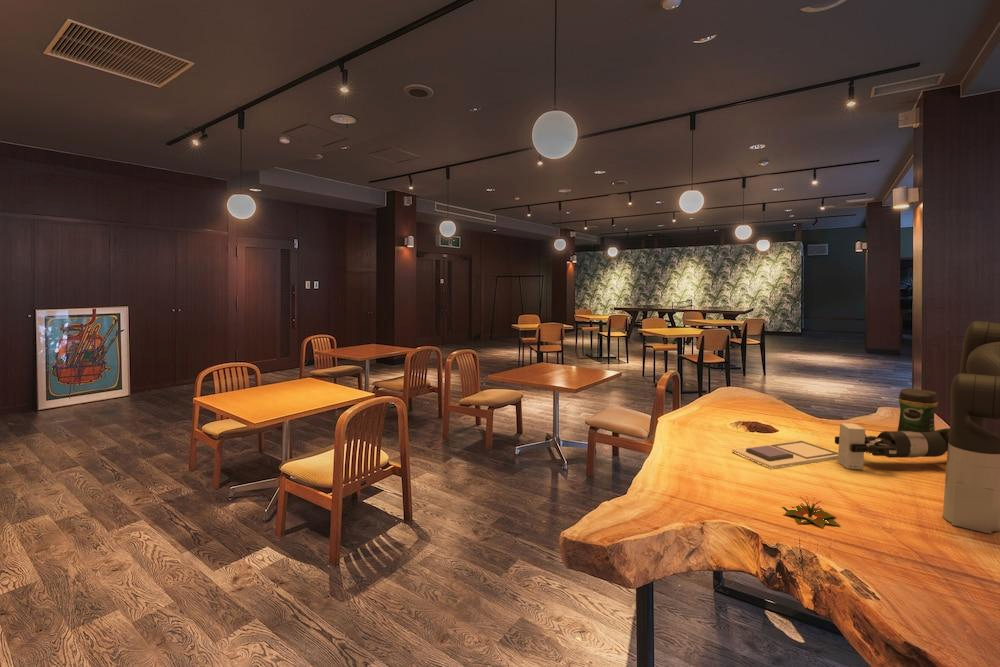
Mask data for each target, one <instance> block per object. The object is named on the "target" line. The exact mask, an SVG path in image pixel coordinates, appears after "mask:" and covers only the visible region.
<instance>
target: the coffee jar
mask: <svg viewBox="0 0 1000 667" xmlns="http://www.w3.org/2000/svg"><path fill="white" fill-rule="evenodd" d="M897 401H898V404H899V406H900V409H899V410H900V411H899V420H898V425H897V430H896V431H911V432H933V431H936V430H935V429H936V427H935V413H936V412H935V411H936V409H937V407H938V405H939V398H938V394H937V391H931V390H925V389H919V388H912V387H910V388H909V387H908V388H907V387H906V388H903V389H902V388H901V390H900V392H899V395H898V400H897Z"/></svg>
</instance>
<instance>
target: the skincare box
mask: <svg viewBox="0 0 1000 667" xmlns="http://www.w3.org/2000/svg"><path fill="white" fill-rule="evenodd" d="M865 434H866V429H865V428H864V427H863V426H860V425H858V424H856V423H847V422H846V423H844V422H840V423H839V435H838V436H839V444H838V449H837V450H838V451H837V453H838V459H837V462H838V463H839V464H840V465H842V466H843V467H845V468H846V470H847V469H849V470H864V459H865V458H864V456H865V452H851V451H850V445H851V444H865Z"/></svg>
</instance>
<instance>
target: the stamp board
mask: <svg viewBox="0 0 1000 667" xmlns="http://www.w3.org/2000/svg"><path fill="white" fill-rule="evenodd" d="M732 451H734V452H736V453H739V454H741V455H743V456H745V457H747V458H750V459H752V460H754V461H756V462H759V463H761V464H763V465H766V466H768V467H770V468H775V467H782V466H789V467H791V466H790V465H796V466H798V465H797V464H802V465H807V464H806V463H808V464H814V463H813V462H815V463H820V462H827V461H833V460H838V451H837V452H836V451H834V450H830V449H827V448H824V447H821V446H818V445H815V444H812V443H809V442H806V441H803V440H794V441H787V442H778V443H772V444H763V445H756V446H750V447H742V448H736V449H732V450H731V452H732Z"/></svg>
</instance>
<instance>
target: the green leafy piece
mask: <svg viewBox="0 0 1000 667" xmlns="http://www.w3.org/2000/svg"><path fill="white" fill-rule="evenodd" d="M800 498H801V500H802V501H804V503H806V505H805V504H804V503H803V502H801V503H800V504H799V505H800V506H801V507H802V508H801V507H800V506H799V505H796V506H795V507H794V506H791V507H792V508H797V510H798V511H796V510H787V509H785V510H786V512H785V513H783V516H795V517H794V518H795V521H796V522H797V525H800V524H812V523H814V524H815V525H816V526H818V527H820V528H821V529H824V525H825V524H826V525H833V526H839V527H841V525H840V523H838V521H836V520H833V519H831V518H836V516H835V515H834V514H831V513H829V512H827V511H825V510H824V509H823V508H821V506H819V505H818V506H816V505H817V504H819V503H821V502H822V500H818V501H817V502H814V501H815V500H816V497H814V499H813V500H812V503H811V505H810V501H809V499H808V496H807V495H806V496H805V498H806V499H807V501H806V499H804V498H803V497H801V496H800ZM817 510H820V511H817ZM814 511H815V512H814ZM816 511H817V512H816ZM805 515H807V516H808V517H806V516H805ZM813 515H814V516H813ZM812 517H815V518H816V517H817V518H816V519H815V518H814V519H813V520H812ZM801 518H805V519H806V520H805V521H803V522H801V521H802V520H803V519H802V520H801ZM823 519H824V520H823ZM825 520H827V521H828V522H829V523H827V522H826V521H825Z"/></svg>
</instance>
